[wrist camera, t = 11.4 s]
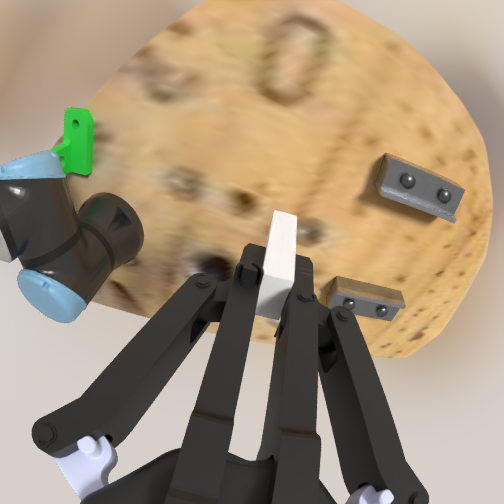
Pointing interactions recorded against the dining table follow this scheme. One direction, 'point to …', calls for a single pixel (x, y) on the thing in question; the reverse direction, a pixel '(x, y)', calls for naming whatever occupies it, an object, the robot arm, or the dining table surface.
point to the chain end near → (418, 187)
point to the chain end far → (365, 298)
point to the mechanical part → (76, 142)
